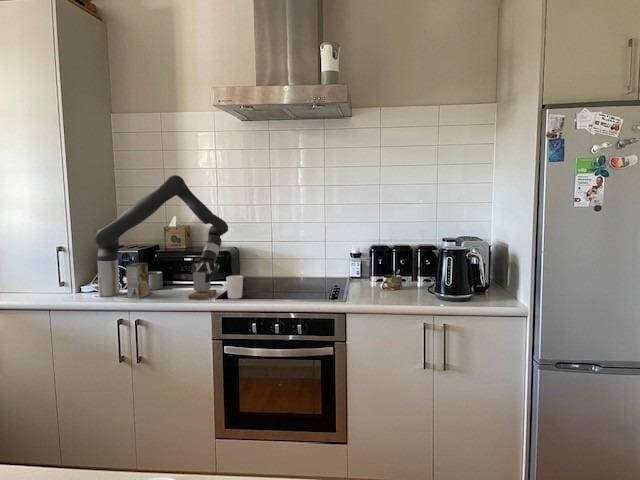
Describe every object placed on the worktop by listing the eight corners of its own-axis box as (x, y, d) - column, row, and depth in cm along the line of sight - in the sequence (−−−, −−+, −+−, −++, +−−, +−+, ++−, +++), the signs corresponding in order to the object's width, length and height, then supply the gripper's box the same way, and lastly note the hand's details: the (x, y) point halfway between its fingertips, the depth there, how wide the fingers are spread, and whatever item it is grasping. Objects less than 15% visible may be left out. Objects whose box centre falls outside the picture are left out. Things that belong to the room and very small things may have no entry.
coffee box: (138, 294, 225) (137, 262, 224) (149, 294, 224) (148, 262, 222) (127, 298, 216) (125, 265, 215) (139, 298, 215) (137, 265, 213)
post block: (204, 299, 212) (203, 287, 211) (188, 299, 213) (187, 286, 213) (216, 293, 226) (215, 281, 225) (201, 293, 227) (200, 281, 226)
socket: (193, 290, 217) (193, 272, 216) (199, 288, 223) (198, 270, 222) (205, 291, 216) (204, 272, 215) (210, 288, 222) (210, 270, 221)
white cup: (235, 294, 223) (234, 274, 222) (246, 296, 218) (246, 276, 217) (223, 297, 216) (222, 277, 215) (234, 300, 212) (234, 279, 211)
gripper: (194, 249, 226) (183, 276, 215) (221, 249, 223) (212, 277, 213) (199, 258, 232) (189, 285, 221) (225, 258, 229) (216, 286, 219)
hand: (200, 281), depth 217 cm, fingers closed on socket, 6 cm apart
